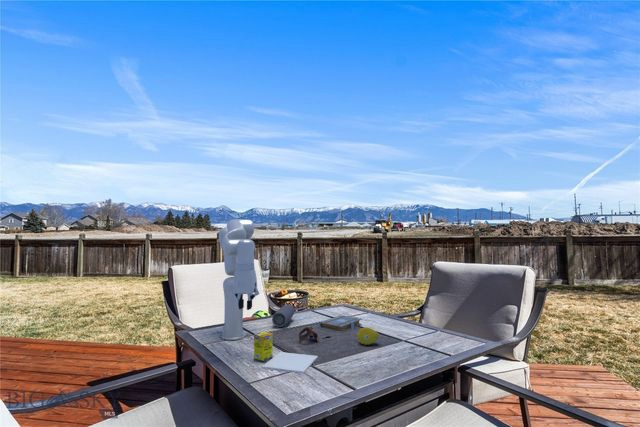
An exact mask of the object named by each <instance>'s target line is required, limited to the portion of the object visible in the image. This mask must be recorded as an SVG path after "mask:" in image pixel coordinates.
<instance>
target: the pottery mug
mask: <svg viewBox="0 0 640 427" xmlns="http://www.w3.org/2000/svg"><path fill="white" fill-rule="evenodd" d="M305 332H306V333H305ZM309 338H310V339H312V338H313V339H314V341H316V343H319V341H320V340H319V336H318V333H317V330H315V329H314V328H313V327H312V326H305V327H304V328H302V329H301V330H300V331H299V333H298V341H299V342H302V341H305V340H307V341H308V340H309Z"/></svg>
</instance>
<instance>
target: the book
mask: <svg viewBox="0 0 640 427" xmlns="http://www.w3.org/2000/svg"><path fill="white" fill-rule="evenodd" d="M362 320H363V319H362V318H359V317H353V316H347V315H342V314H340V315H337V316H335V317H332V318H328V319H325V320H322V321H320V322H319V323H318V328H319V329H320V330H325V331H330V332H334V333H337V334H338V333H339V334H343V333H346V332H348V331H351V330H354V329H357V328H358V326H359V327H361V326H363V324H362V323H360V321H362Z"/></svg>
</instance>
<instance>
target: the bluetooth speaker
mask: <svg viewBox="0 0 640 427" xmlns="http://www.w3.org/2000/svg"><path fill="white" fill-rule="evenodd" d="M294 314H295V309H294V307H293V305H291V304H284V305H283V306H281V307H280V308H279V309H277V311H276V312H275V313H274V314H273V316H272V318H271V321H272V324H273V325H274V327H276V328H283V327H285V326H286V325H287V324H288V323H289V322H290V321H291V320H292V318H293V317H294Z"/></svg>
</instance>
